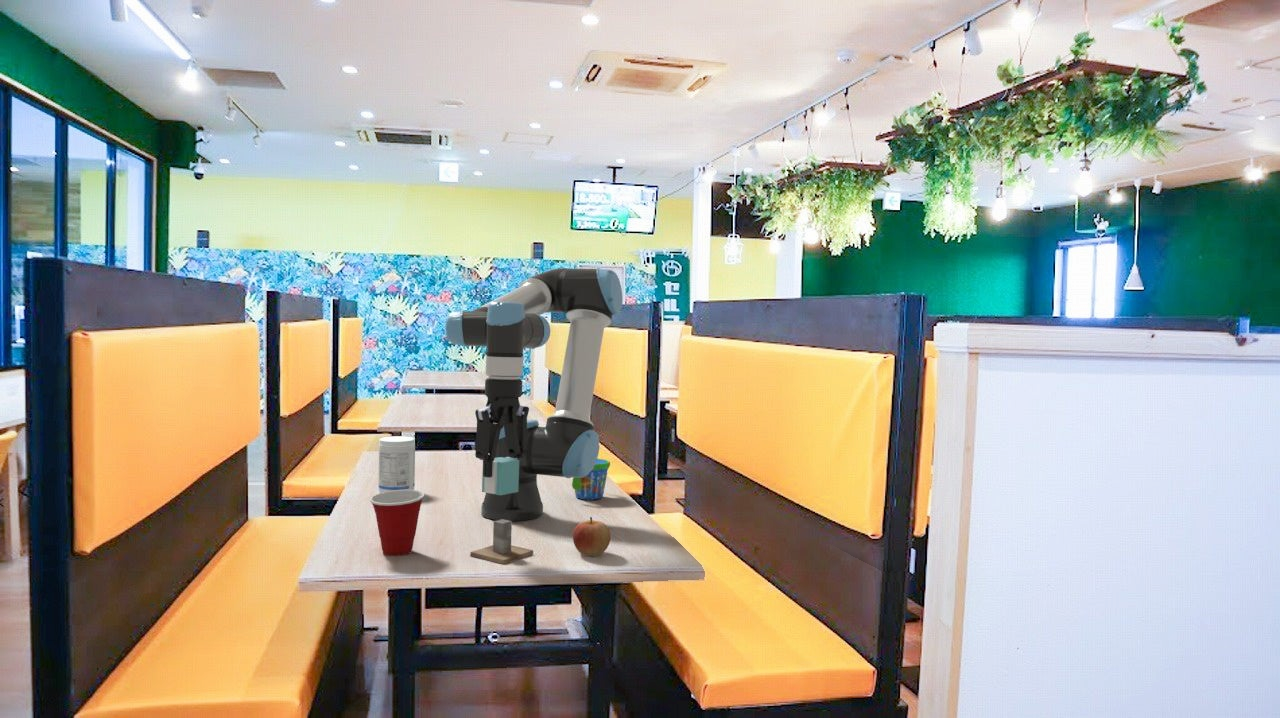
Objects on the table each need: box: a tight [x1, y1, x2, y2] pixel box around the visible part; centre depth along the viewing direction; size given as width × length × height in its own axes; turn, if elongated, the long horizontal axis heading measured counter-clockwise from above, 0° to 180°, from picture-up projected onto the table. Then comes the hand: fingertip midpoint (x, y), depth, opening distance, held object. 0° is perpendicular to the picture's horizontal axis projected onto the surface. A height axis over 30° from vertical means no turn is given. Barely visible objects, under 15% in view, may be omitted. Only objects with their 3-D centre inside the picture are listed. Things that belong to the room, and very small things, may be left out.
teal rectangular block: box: [481, 457, 519, 495], centre depth 172 cm, size 5×5×7 cm
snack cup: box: [571, 458, 611, 501], centre depth 229 cm, size 16×10×10 cm
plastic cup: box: [369, 489, 425, 557], centre depth 172 cm, size 11×11×12 cm
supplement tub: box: [378, 435, 416, 493], centre depth 229 cm, size 10×10×15 cm
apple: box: [572, 516, 612, 557], centre depth 175 cm, size 8×8×8 cm
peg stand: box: [469, 519, 534, 565], centre depth 172 cm, size 9×9×7 cm
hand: (500, 490), depth 172 cm, fingers closed on teal rectangular block, 5 cm apart
